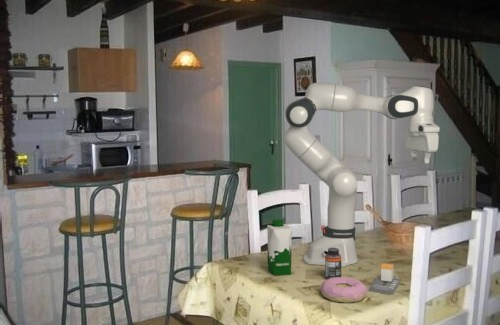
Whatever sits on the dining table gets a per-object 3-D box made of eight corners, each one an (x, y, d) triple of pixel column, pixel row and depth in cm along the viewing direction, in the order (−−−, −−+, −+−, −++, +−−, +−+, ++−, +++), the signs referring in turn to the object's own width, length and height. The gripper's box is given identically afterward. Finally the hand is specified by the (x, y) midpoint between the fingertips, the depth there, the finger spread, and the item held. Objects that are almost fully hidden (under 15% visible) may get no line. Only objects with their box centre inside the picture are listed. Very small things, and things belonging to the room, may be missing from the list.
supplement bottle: (330, 275, 192) (330, 245, 191) (344, 278, 188) (344, 248, 187) (322, 279, 188) (322, 249, 187) (336, 282, 184) (336, 251, 183)
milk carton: (286, 268, 201) (286, 218, 199) (294, 275, 192) (294, 223, 191) (265, 270, 199) (265, 219, 197) (272, 277, 190) (272, 224, 188)
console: (378, 279, 187) (378, 273, 187) (400, 282, 183) (400, 276, 183) (369, 291, 175) (369, 284, 174) (392, 294, 171) (392, 288, 171)
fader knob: (382, 277, 185) (383, 263, 184) (393, 278, 183) (393, 264, 182) (380, 280, 181) (380, 266, 181) (391, 281, 179) (391, 267, 179)
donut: (343, 308, 159) (343, 293, 159) (311, 294, 172) (311, 280, 172) (377, 298, 168) (377, 283, 168) (344, 286, 181) (344, 272, 180)
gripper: (401, 126, 210) (400, 159, 211) (426, 127, 190) (425, 164, 191) (415, 126, 211) (414, 159, 212) (442, 127, 191) (440, 164, 192)
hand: (420, 162), depth 202 cm, fingers open, 8 cm apart
